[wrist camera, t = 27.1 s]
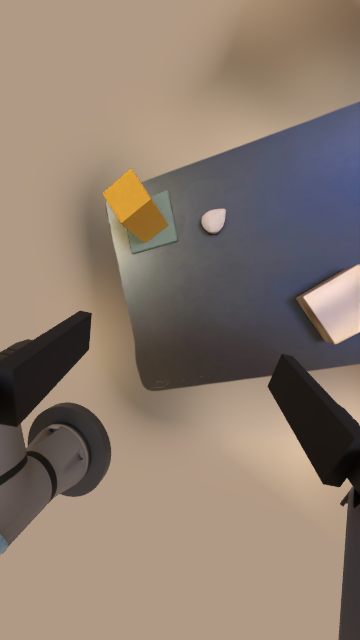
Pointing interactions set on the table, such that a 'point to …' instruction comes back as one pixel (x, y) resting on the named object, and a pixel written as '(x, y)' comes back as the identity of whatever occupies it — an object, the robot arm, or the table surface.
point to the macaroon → (213, 220)
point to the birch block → (335, 305)
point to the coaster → (162, 237)
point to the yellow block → (135, 207)
